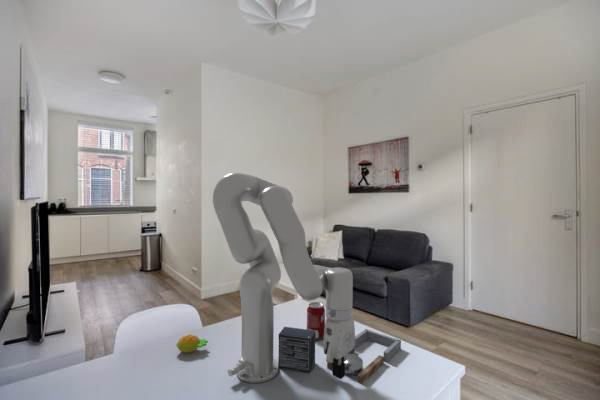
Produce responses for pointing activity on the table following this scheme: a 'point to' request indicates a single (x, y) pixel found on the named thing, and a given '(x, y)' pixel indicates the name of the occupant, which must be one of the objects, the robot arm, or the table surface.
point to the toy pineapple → (190, 343)
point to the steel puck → (353, 365)
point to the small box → (297, 349)
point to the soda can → (316, 319)
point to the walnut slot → (368, 370)
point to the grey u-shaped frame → (392, 343)
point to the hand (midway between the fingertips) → (338, 375)
